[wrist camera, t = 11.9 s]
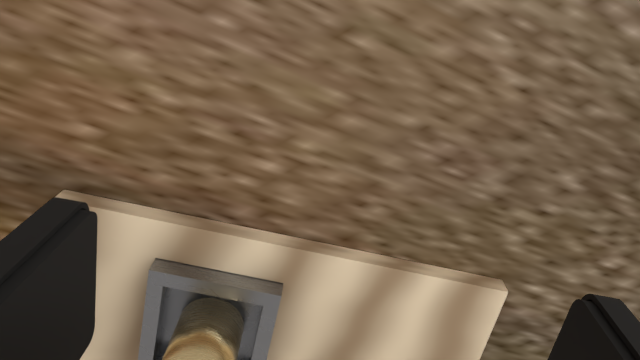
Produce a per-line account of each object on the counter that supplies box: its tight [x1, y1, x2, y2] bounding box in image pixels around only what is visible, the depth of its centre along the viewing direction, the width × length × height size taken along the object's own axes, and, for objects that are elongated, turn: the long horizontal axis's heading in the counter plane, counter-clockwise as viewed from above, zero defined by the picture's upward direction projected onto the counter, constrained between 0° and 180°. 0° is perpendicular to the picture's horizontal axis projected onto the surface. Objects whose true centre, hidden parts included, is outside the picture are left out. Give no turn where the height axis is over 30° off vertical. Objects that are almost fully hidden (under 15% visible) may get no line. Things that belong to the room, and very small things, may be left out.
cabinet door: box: [56, 190, 508, 360], centre depth 37 cm, size 30×14×3 cm, turn 77°
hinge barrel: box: [162, 297, 244, 360], centre depth 34 cm, size 4×4×7 cm
